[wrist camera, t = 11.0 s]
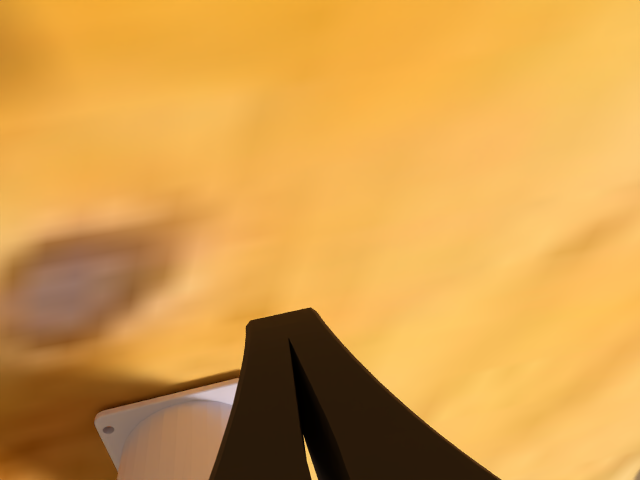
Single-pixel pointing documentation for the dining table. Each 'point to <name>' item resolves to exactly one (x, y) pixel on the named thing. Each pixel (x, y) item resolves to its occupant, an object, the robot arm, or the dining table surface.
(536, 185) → the dining table surface
